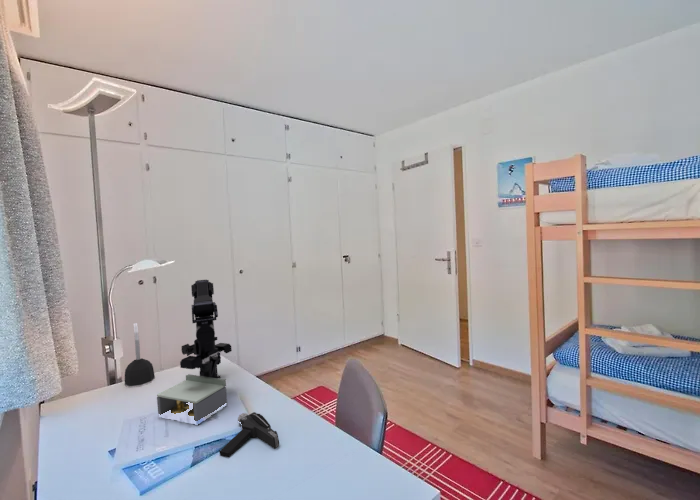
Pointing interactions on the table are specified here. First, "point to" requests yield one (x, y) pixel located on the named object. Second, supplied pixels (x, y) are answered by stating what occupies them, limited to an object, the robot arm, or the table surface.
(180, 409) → the brass door knob
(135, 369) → the black plunger
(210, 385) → the lid
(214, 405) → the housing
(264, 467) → the table surface
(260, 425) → the toy gun
